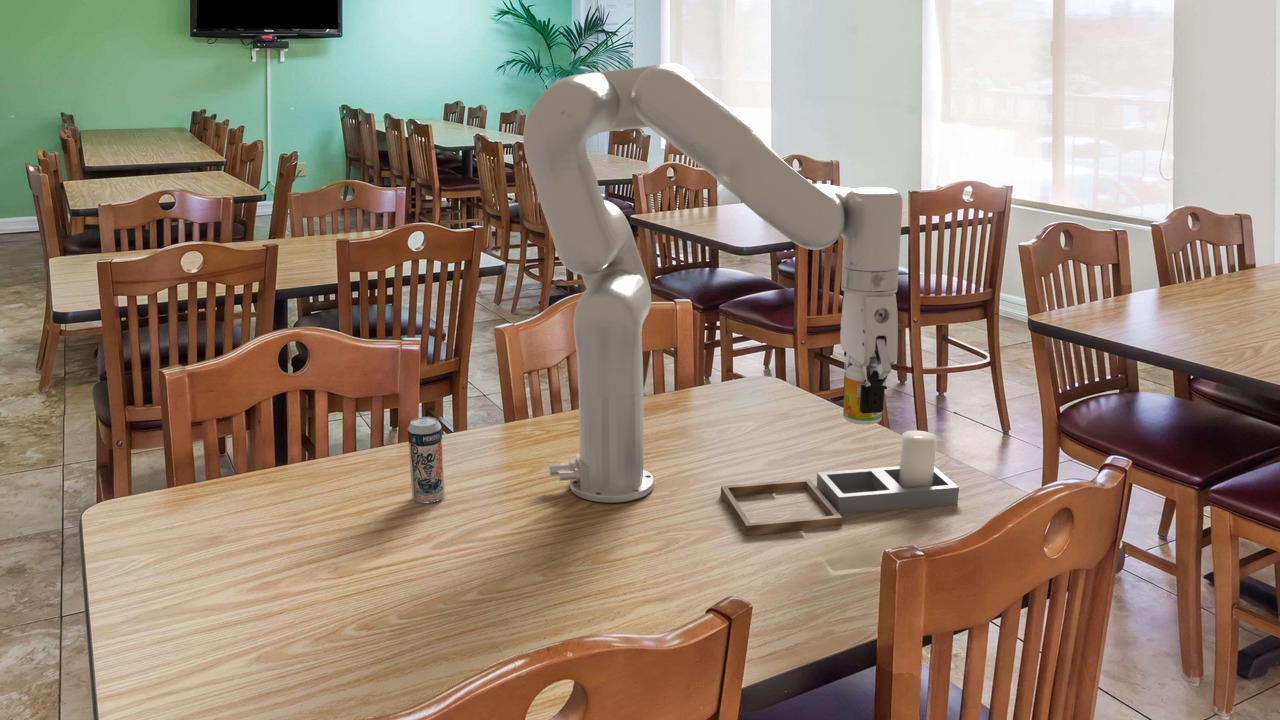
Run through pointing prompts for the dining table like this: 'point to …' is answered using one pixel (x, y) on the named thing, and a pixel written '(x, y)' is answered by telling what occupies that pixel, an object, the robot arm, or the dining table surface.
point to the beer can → (426, 459)
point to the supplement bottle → (857, 395)
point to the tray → (779, 525)
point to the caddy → (882, 490)
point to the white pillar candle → (917, 459)
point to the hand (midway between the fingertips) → (862, 403)
